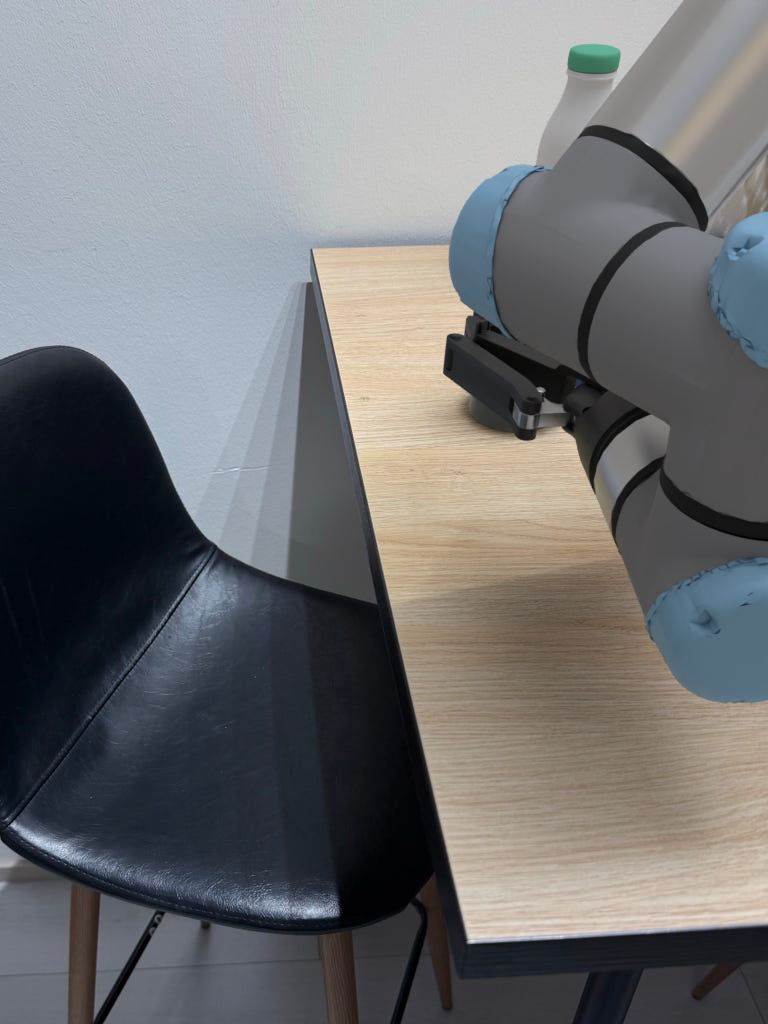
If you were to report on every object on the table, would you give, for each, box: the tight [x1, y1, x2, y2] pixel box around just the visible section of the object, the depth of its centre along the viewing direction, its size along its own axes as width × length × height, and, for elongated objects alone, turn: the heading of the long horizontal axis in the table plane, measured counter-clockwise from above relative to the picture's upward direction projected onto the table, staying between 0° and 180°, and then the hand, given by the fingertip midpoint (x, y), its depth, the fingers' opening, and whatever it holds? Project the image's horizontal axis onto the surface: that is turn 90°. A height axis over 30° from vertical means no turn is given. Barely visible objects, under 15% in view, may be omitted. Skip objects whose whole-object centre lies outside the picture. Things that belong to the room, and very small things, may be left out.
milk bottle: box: [535, 43, 622, 168], centre depth 101 cm, size 8×8×20 cm
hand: (578, 304), depth 72 cm, fingers open, 13 cm apart
